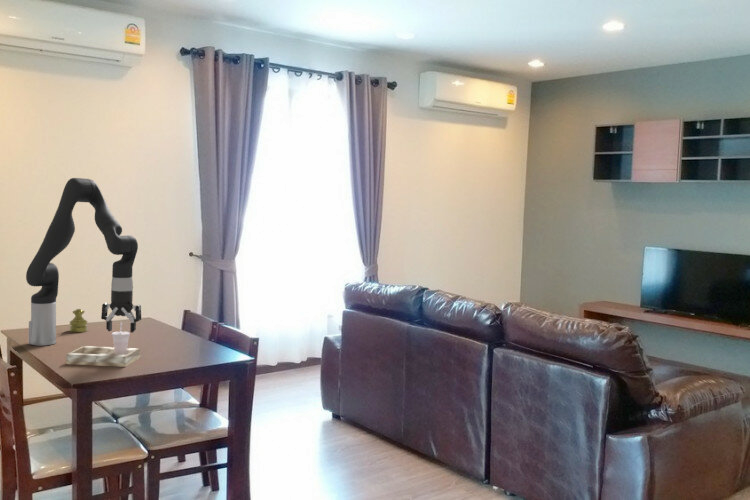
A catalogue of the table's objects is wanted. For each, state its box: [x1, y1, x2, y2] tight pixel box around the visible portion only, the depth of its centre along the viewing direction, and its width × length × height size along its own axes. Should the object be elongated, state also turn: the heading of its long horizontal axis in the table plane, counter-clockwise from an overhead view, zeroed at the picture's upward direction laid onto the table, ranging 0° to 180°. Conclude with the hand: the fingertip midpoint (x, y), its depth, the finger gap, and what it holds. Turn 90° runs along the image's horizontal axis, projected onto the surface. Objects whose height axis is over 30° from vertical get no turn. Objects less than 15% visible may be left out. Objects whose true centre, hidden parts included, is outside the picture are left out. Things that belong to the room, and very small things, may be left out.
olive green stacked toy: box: [69, 308, 88, 333], centre depth 304 cm, size 7×7×10 cm
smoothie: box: [111, 321, 131, 355], centre depth 253 cm, size 6×6×14 cm
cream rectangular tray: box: [65, 345, 141, 368], centre depth 254 cm, size 22×14×4 cm, turn 89°
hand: (121, 331), depth 253 cm, fingers open, 8 cm apart
